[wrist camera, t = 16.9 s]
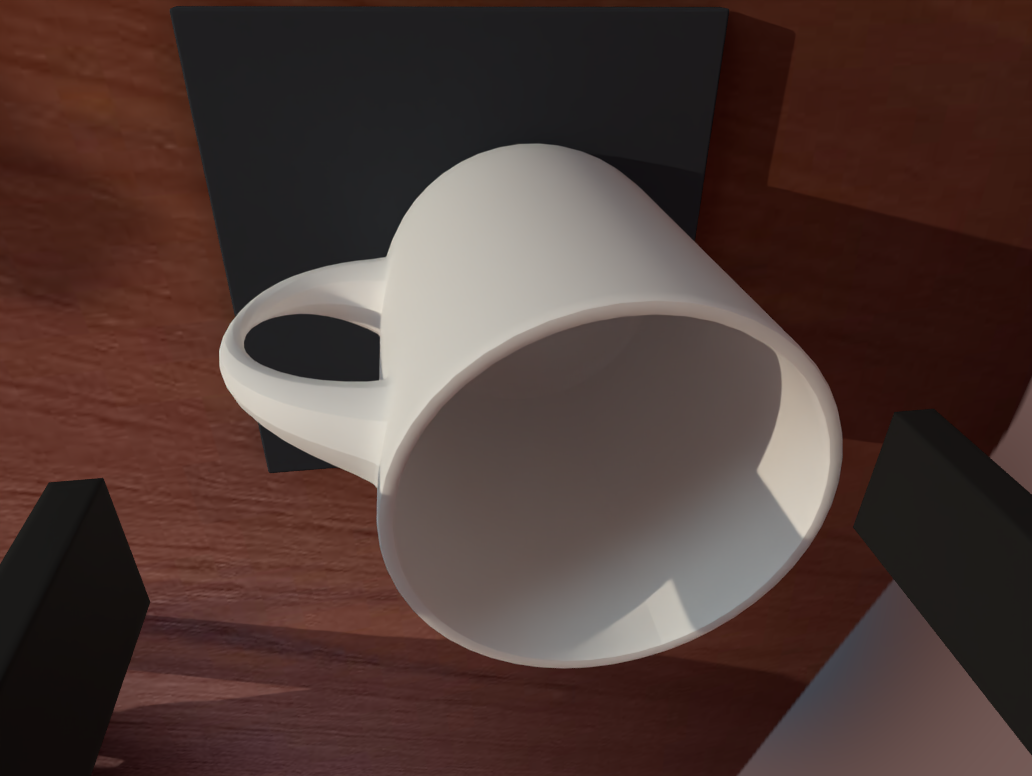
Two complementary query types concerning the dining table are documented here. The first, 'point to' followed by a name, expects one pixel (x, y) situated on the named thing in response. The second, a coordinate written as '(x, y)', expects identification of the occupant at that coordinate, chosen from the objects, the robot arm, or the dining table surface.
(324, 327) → the mat
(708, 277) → the mug
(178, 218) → the dining table surface
